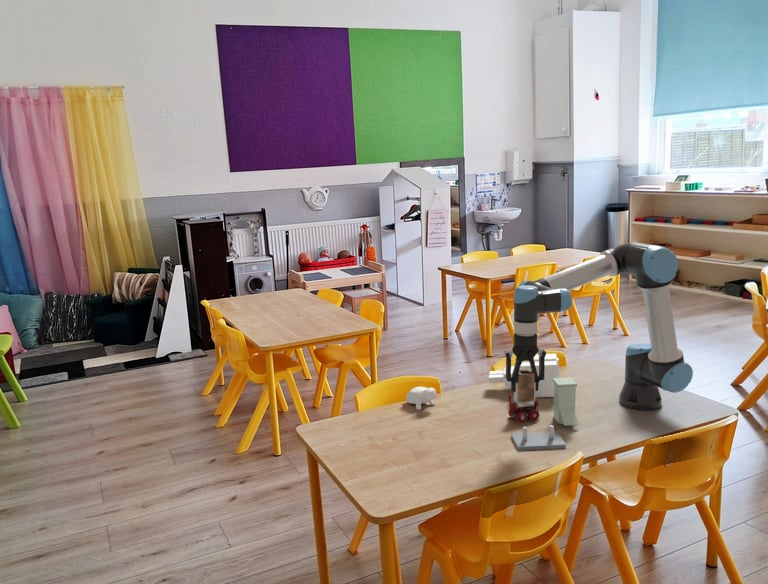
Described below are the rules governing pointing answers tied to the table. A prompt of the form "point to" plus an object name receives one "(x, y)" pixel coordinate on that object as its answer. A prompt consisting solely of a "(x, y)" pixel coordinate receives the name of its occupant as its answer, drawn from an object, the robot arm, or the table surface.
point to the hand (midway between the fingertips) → (524, 399)
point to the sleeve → (525, 388)
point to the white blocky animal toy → (421, 396)
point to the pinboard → (538, 440)
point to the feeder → (565, 401)
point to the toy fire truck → (523, 410)
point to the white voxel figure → (549, 373)
